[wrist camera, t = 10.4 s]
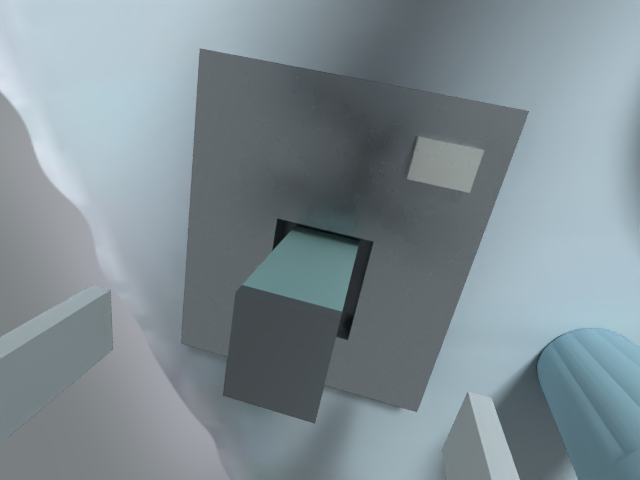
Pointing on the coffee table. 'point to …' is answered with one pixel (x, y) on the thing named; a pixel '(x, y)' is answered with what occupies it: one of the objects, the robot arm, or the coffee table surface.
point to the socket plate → (343, 205)
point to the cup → (595, 401)
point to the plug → (289, 323)
